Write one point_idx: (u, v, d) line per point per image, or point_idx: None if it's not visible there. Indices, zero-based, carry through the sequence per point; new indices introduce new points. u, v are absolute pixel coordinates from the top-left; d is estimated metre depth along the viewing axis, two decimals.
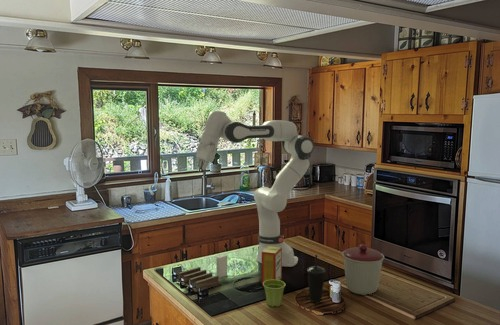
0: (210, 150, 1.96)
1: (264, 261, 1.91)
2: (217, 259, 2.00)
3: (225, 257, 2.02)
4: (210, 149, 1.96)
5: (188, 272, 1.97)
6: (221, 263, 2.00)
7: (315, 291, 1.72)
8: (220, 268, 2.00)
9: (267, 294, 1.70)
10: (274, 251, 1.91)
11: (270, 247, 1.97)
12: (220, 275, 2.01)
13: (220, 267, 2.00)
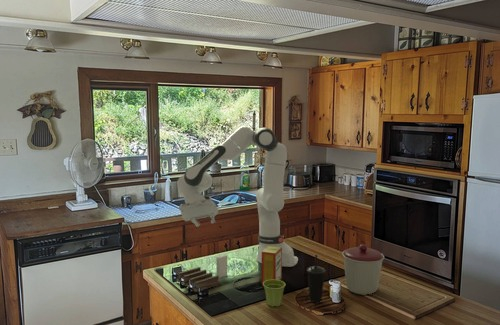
0: (181, 212, 2.08)
1: (264, 261, 1.91)
2: (217, 259, 2.00)
3: (225, 257, 2.02)
4: (181, 211, 2.08)
5: (188, 272, 1.97)
6: (221, 263, 2.00)
7: (315, 291, 1.72)
8: (220, 268, 2.00)
9: (267, 294, 1.70)
10: (274, 251, 1.91)
11: (270, 247, 1.97)
12: (220, 275, 2.01)
13: (220, 267, 2.00)
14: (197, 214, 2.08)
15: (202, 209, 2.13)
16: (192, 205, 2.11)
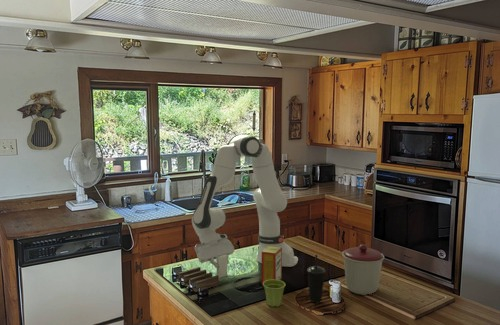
0: (197, 253, 2.00)
1: (264, 261, 1.91)
2: (217, 259, 2.00)
3: (225, 257, 2.02)
4: (196, 252, 2.01)
5: (188, 272, 1.97)
6: (221, 263, 2.00)
7: (315, 291, 1.72)
8: (220, 268, 2.00)
9: (267, 294, 1.70)
10: (274, 251, 1.91)
11: (270, 247, 1.97)
12: (220, 275, 2.01)
13: (220, 267, 2.00)
14: (213, 255, 2.01)
15: (218, 248, 2.05)
16: (208, 245, 2.03)
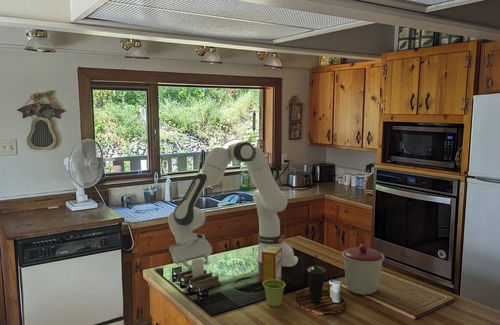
0: (171, 254, 1.91)
1: (264, 261, 1.91)
2: (193, 263, 1.91)
3: (201, 261, 1.93)
4: None
5: (188, 272, 1.97)
6: (197, 267, 1.91)
7: (315, 291, 1.72)
8: (196, 272, 1.91)
9: (267, 294, 1.70)
10: (274, 251, 1.91)
11: (270, 247, 1.97)
12: None
13: (196, 271, 1.91)
14: (189, 256, 1.91)
15: (195, 249, 1.95)
16: (183, 246, 1.94)
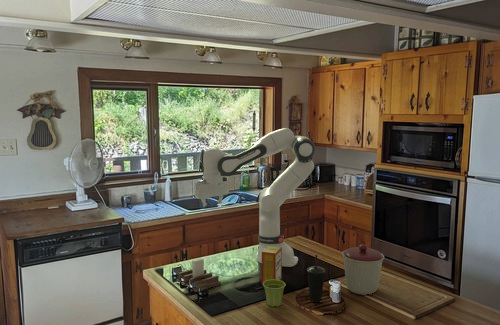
0: (195, 188, 2.12)
1: (264, 261, 1.91)
2: (193, 263, 1.91)
3: (201, 261, 1.93)
4: None
5: (188, 272, 1.97)
6: (197, 267, 1.91)
7: (315, 291, 1.72)
8: (196, 272, 1.91)
9: (267, 294, 1.70)
10: (274, 251, 1.91)
11: (270, 247, 1.97)
12: None
13: (196, 271, 1.91)
14: (208, 195, 2.15)
15: (216, 190, 2.18)
16: (208, 185, 2.14)
